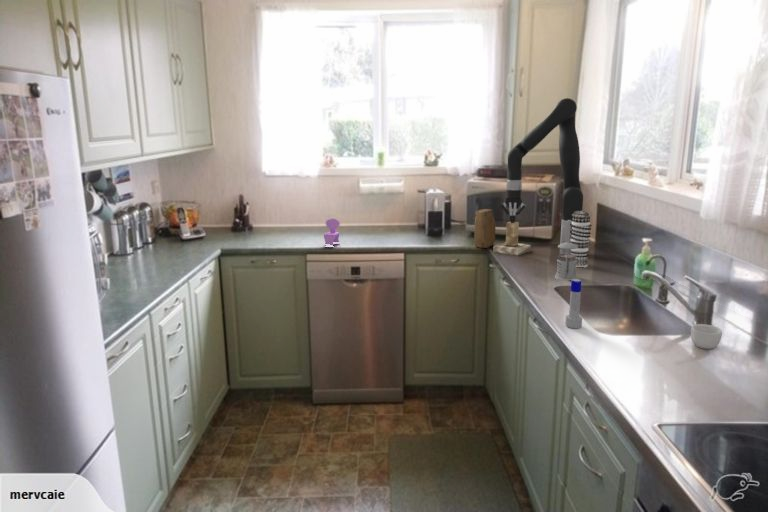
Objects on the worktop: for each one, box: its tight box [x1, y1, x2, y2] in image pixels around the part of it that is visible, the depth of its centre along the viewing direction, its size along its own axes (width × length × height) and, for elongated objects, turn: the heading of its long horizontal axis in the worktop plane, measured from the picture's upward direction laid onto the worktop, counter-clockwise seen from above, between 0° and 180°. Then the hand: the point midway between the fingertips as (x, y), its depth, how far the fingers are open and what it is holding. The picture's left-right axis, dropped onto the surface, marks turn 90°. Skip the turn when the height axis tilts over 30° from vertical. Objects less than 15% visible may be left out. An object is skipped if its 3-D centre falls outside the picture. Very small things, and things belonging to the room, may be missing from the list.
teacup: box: [690, 323, 723, 350], centre depth 158 cm, size 10×8×5 cm
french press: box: [554, 220, 578, 281], centre depth 226 cm, size 10×12×25 cm
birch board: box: [492, 241, 532, 257], centre depth 277 cm, size 14×13×3 cm
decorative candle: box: [569, 210, 592, 268], centre depth 245 cm, size 9×9×25 cm
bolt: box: [565, 278, 583, 329], centre depth 174 cm, size 16×5×5 cm
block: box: [473, 208, 496, 249], centre depth 287 cm, size 11×8×20 cm
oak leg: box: [505, 221, 520, 247], centre depth 276 cm, size 5×5×15 cm
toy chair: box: [323, 218, 341, 246], centre depth 298 cm, size 8×9×15 cm
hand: (512, 222), depth 274 cm, fingers closed
